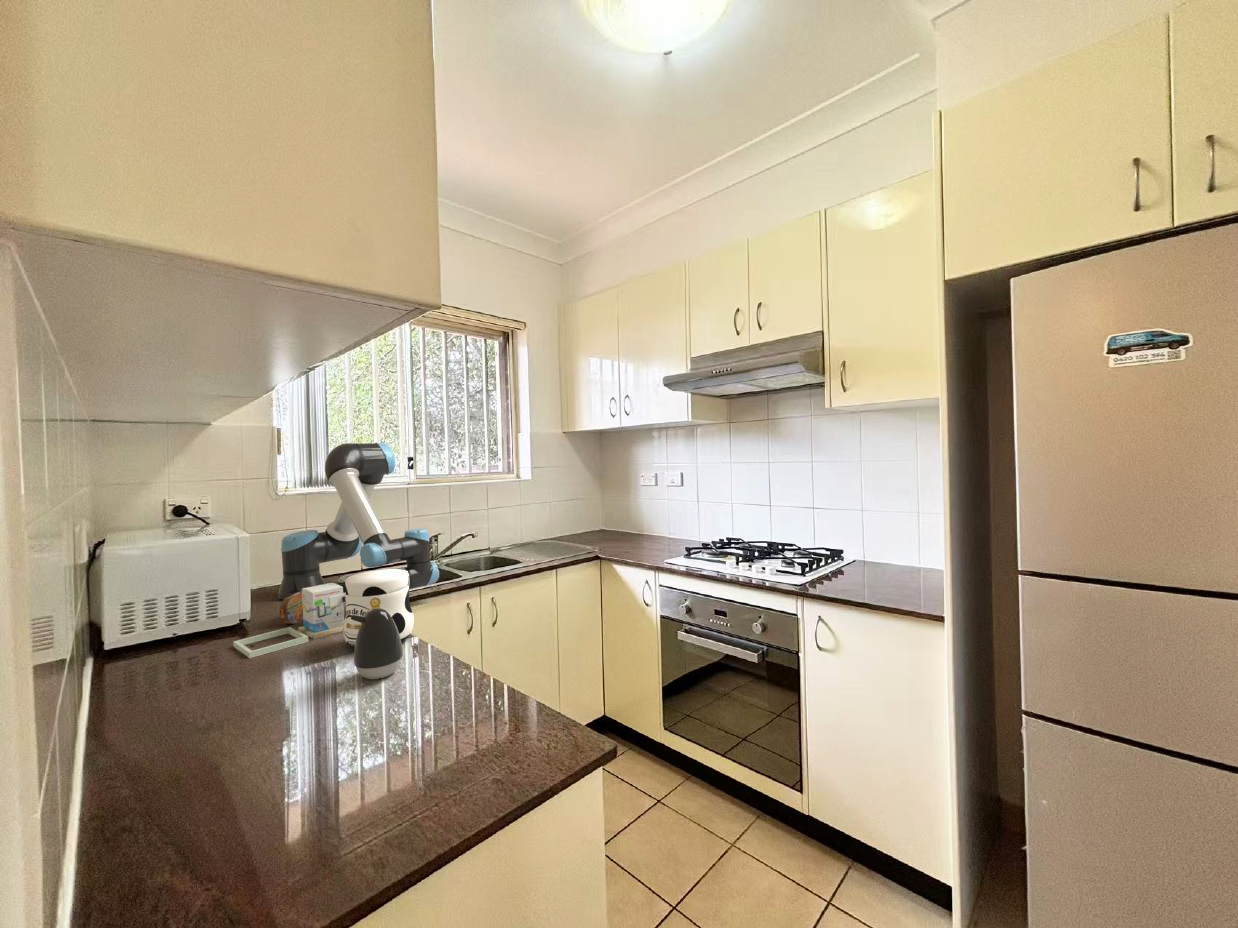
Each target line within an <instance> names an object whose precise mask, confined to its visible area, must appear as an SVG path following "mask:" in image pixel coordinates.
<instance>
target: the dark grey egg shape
mask: <svg viewBox="0 0 1238 928" xmlns="http://www.w3.org/2000/svg"><path fill="white" fill-rule="evenodd" d="M351 620H354V621H357V622H360V623H361V626H360V628H359V631H358V634H357V638H356V643H355V648H354V649H353V650H354V651H353V665H354V666H355V667H356V668H355V669H356V671H357V672H358V674H359V675H360V676H361V677H363V678H364V679H367V680H379V678H381V679H383V678H387V677H389V676H391V675H392V674H393V673H394V672H396V671H397V670H398V668H399V666H400V664H401V661H402V658H403V656H404V651H403V650H404V649H403V644H402V641H401V638H400V635H399V632H398V629H397V627H396V624H395V622H394V620H393V619H392V617H391V615H390V614H389V613H388V612H387V611H386V610H384V609H381V608H376V609H373V610H371V611H369V612H368V613H367V614H366V616H365V617H363V616H357V615H352V616H351Z"/></svg>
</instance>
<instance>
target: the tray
mask: <svg viewBox="0 0 1238 928" xmlns="http://www.w3.org/2000/svg"><path fill="white" fill-rule="evenodd" d="M284 635H291V636H292V637H294V638H293V639H289V640H287V641H283V642H280V643H279V642H278V643H275V644H272V645H268V646H264V647H260V648H258V649H253V650H252V649H250V648H249V647H247V646H246V645H250V644H253V643H257V642H260V641H264V640H269V639H273V638H276V637H281V636H284ZM305 643H309V636H307V635H305V634H303V633H301V632H299V631H298V629H295V628H293V627H291V626H288V627H285V628H284V627H283V628H280V629H276V630H272V631H268V632H264V633H261V634H258V635H257V634H256V635H254V636H249V637H246V638H242V639H238V640H233V648H234V649H236V650H237V651H238V652H240V653H241V654H243V655H244V656H246V657H247V658H248V659H252V658H256V657H258V656H262V655H266V654H270V653H274V652H277V651H280V650H284V649H286V648H291V647H295V646H298V645H302V644H305Z"/></svg>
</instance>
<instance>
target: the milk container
mask: <svg viewBox="0 0 1238 928" xmlns="http://www.w3.org/2000/svg"><path fill="white" fill-rule="evenodd" d="M344 582H345V592H344V593H346V594H345V600H346V603H345V607H346V608H345V615H344V625H343V631H342V632H343V638H344V641H345V643H346V644H347V645H348V646H350V647H352V648H354V649H355V643H356V638H357V634H358V631H359V628H360V626H361V623H360V622H357V621H354V620H351V616H352V615H357V616H363V617H365V616H366V614H367V613H368V612H369V611H371V610H373V609H376V608H381V609H384V610H386V611H387V612H388V613H389V614H390V615H391V617H392V619H393V620H394V622H395V624H396V627H397V629H398V632H399V635H400V638H401V642H402V641H404V640H405V639H406V638H408V637H409V636H411V634H412V632H413V630H414V626H415V625H414V624H415V622H414V621H415V619H414V618H415V616H414V612H413V609H412V607H411V603H410V589H409V586H408V583H409V582H408V575H407V572H406V571H405V570H399V569H398V568H394V569H393V568H391V569H390V568H389V569H379V570H378V569H377V570H370V571H363V572H361V573H355V574H353V575H350V576H349V577H348V576H347V578H345V581H344Z"/></svg>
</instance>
